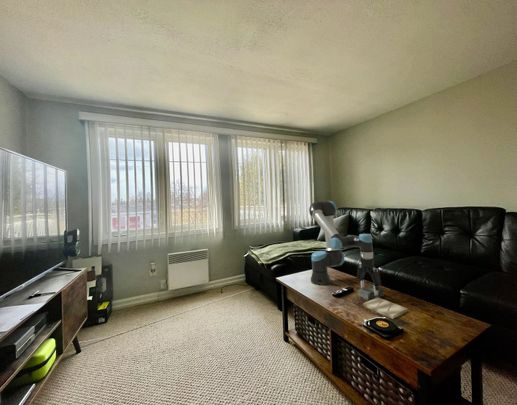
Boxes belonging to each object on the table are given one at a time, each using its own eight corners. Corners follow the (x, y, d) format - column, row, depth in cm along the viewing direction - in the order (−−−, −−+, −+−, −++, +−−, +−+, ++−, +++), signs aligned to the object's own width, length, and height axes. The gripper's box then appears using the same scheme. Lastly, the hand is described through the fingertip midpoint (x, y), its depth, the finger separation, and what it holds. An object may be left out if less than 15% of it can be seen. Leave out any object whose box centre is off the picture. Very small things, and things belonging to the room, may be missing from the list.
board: (363, 305, 124) (363, 303, 124) (378, 299, 130) (377, 297, 130) (392, 318, 108) (392, 315, 109) (407, 311, 115) (407, 308, 115)
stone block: (356, 296, 137) (355, 288, 137) (371, 291, 143) (371, 283, 143) (368, 301, 129) (367, 293, 129) (384, 296, 134) (383, 288, 135)
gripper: (349, 255, 143) (351, 288, 143) (378, 262, 125) (381, 300, 124) (356, 254, 147) (358, 286, 146) (386, 260, 128) (389, 296, 127)
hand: (369, 292), depth 135 cm, fingers open, 8 cm apart
